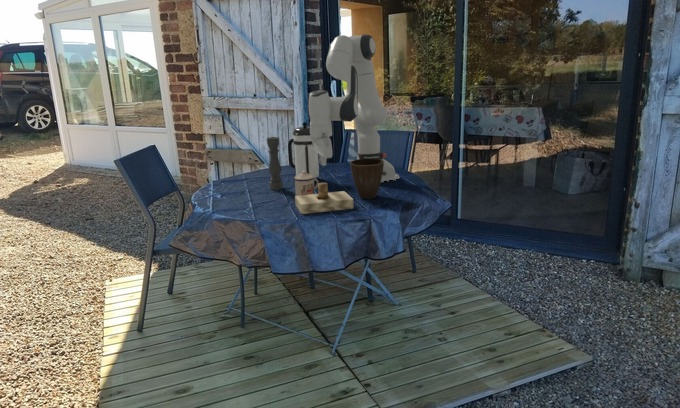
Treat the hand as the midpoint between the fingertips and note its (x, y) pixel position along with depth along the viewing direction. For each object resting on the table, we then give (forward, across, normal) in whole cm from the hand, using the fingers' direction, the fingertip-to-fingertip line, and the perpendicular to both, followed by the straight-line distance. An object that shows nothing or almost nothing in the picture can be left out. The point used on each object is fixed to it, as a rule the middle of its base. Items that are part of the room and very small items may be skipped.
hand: (323, 165), depth 202 cm
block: (+18, 0, +1) cm, 18 cm away
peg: (+18, 0, +1) cm, 18 cm away
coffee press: (+18, +52, -2) cm, 55 cm away
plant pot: (+19, +8, -21) cm, 29 cm away
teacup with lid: (+18, +20, +4) cm, 27 cm away
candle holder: (+18, +39, +16) cm, 46 cm away
